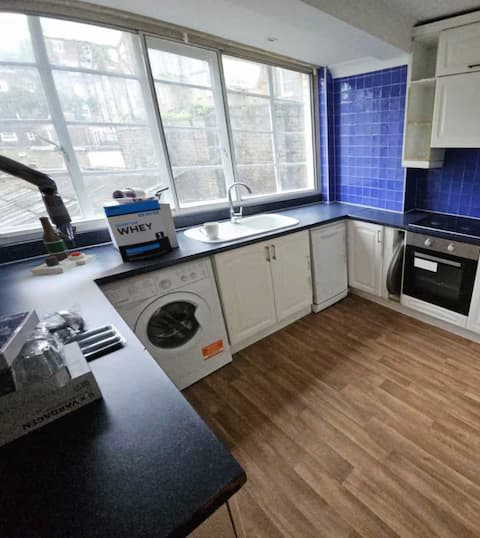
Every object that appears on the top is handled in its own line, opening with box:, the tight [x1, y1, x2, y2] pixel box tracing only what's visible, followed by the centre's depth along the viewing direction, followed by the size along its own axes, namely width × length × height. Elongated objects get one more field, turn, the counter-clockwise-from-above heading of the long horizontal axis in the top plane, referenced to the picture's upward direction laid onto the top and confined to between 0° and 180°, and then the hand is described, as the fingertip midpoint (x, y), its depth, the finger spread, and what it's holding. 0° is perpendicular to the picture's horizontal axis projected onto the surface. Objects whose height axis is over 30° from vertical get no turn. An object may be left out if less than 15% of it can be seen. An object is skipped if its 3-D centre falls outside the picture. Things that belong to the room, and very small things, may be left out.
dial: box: [43, 256, 60, 267], centre depth 148 cm, size 4×4×4 cm
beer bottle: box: [38, 216, 71, 262], centre depth 160 cm, size 8×8×24 cm
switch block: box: [60, 252, 98, 266], centre depth 159 cm, size 12×10×4 cm
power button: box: [70, 251, 81, 257], centre depth 158 cm, size 4×4×2 cm
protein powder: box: [102, 199, 173, 264], centre depth 160 cm, size 10×24×30 cm, turn 140°
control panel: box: [30, 260, 78, 276], centre depth 149 cm, size 13×10×3 cm
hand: (72, 246), depth 157 cm, fingers closed
